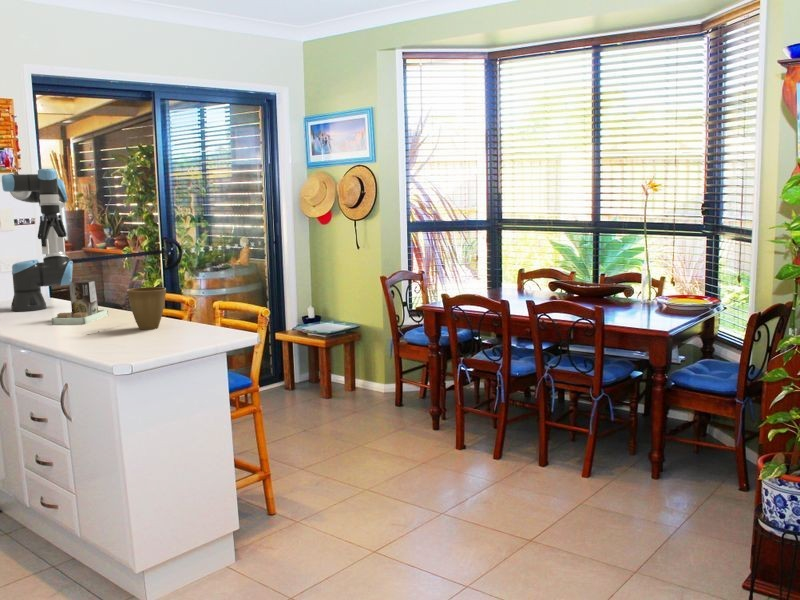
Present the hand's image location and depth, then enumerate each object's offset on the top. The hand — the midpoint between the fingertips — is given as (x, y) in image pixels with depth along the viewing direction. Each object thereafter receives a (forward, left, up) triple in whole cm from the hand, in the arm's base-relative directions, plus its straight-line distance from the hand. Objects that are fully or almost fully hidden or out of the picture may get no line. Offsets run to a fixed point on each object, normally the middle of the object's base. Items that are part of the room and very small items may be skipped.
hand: (53, 253), depth 335 cm
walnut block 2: (+22, +20, -28) cm, 41 cm away
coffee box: (+10, +17, -28) cm, 34 cm away
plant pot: (+30, +53, -29) cm, 67 cm away
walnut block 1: (+22, +14, -28) cm, 38 cm away
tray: (+14, +17, -29) cm, 36 cm away
